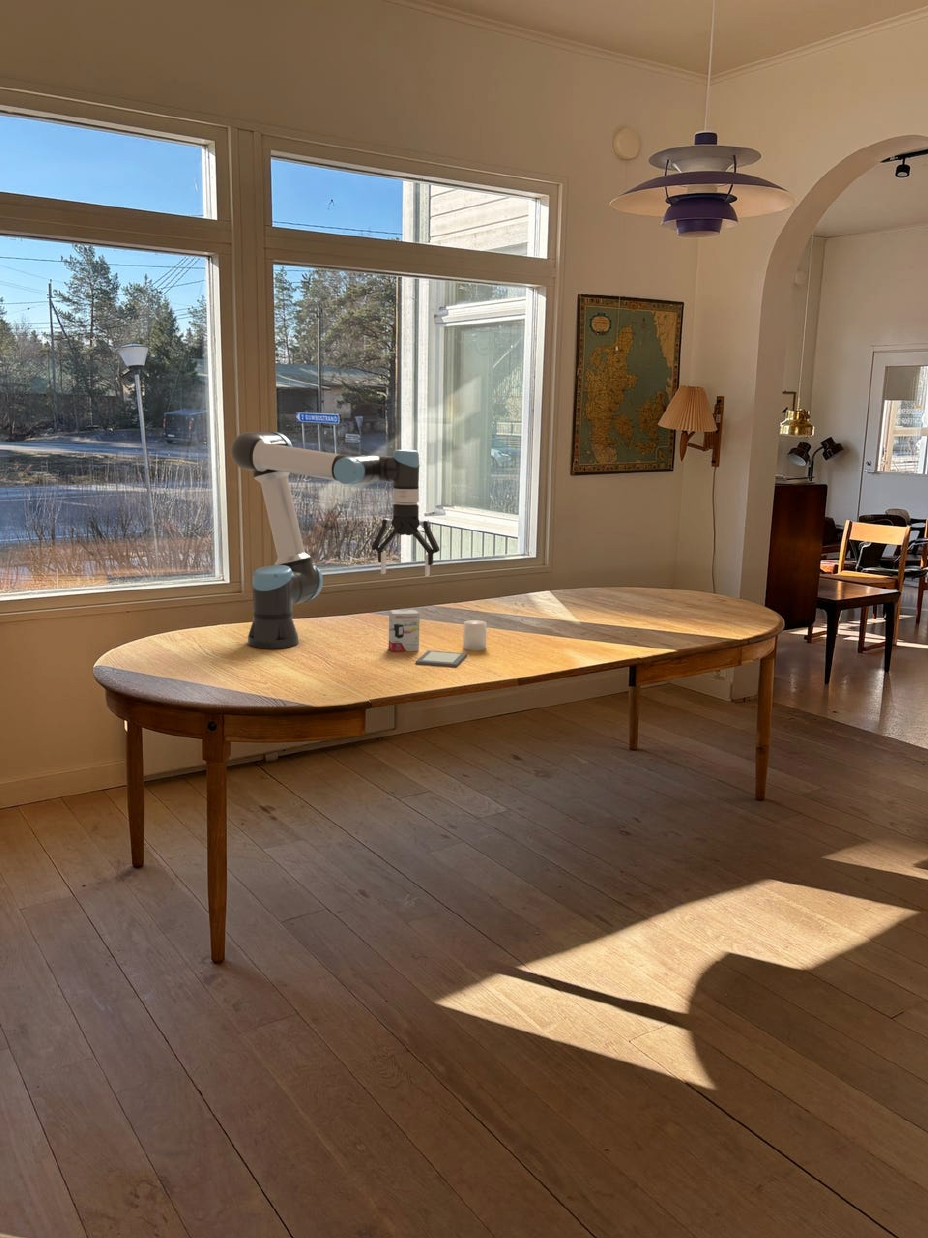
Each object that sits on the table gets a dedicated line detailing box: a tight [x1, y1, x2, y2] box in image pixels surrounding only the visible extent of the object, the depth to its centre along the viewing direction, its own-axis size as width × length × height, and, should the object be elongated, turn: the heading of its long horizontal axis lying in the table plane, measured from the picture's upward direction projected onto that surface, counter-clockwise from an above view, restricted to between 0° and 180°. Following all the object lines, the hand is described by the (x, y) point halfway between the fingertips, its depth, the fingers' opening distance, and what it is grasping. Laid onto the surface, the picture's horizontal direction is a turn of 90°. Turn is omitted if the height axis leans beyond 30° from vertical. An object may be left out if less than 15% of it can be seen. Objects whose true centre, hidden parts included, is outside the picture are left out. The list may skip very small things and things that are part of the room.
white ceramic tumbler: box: [462, 619, 488, 652], centre depth 309 cm, size 7×7×8 cm
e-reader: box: [415, 649, 468, 668], centre depth 293 cm, size 12×14×1 cm
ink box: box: [388, 609, 421, 653], centre depth 304 cm, size 9×5×12 cm, turn 105°
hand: (405, 574), depth 300 cm, fingers open, 13 cm apart
